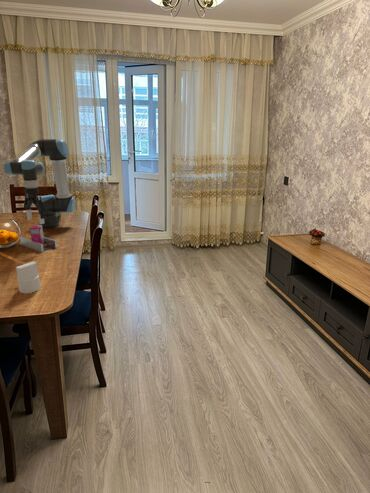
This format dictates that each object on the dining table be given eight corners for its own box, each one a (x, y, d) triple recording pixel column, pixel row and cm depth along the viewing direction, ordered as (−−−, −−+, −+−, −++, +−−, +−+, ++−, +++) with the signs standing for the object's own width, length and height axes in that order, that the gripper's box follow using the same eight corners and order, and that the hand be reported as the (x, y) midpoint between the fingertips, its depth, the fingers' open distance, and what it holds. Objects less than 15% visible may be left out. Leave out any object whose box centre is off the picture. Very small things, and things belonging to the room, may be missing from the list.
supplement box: (35, 242, 216) (32, 225, 213) (44, 242, 217) (42, 225, 213) (31, 245, 211) (29, 227, 207) (41, 245, 211) (39, 227, 208)
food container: (65, 218, 287) (64, 207, 284) (60, 220, 281) (59, 208, 278) (53, 217, 291) (52, 205, 288) (48, 219, 285) (47, 207, 282)
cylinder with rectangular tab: (27, 295, 153) (23, 270, 149) (15, 290, 157) (11, 265, 154) (44, 287, 160) (41, 263, 156) (32, 283, 165) (29, 260, 161)
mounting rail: (19, 246, 217) (18, 237, 215) (37, 242, 226) (36, 233, 224) (40, 254, 203) (39, 245, 201) (58, 249, 212) (57, 240, 210)
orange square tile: (30, 245, 213) (30, 244, 213) (40, 243, 219) (40, 241, 218) (36, 248, 209) (36, 246, 209) (47, 245, 215) (46, 243, 214)
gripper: (14, 185, 207) (19, 219, 214) (37, 190, 192) (41, 226, 199) (26, 184, 212) (30, 217, 219) (49, 188, 198) (53, 224, 205)
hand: (35, 221), depth 209 cm, fingers open, 13 cm apart
